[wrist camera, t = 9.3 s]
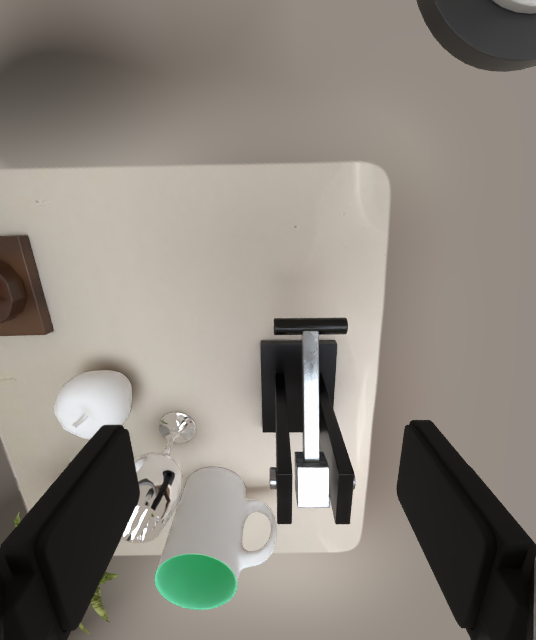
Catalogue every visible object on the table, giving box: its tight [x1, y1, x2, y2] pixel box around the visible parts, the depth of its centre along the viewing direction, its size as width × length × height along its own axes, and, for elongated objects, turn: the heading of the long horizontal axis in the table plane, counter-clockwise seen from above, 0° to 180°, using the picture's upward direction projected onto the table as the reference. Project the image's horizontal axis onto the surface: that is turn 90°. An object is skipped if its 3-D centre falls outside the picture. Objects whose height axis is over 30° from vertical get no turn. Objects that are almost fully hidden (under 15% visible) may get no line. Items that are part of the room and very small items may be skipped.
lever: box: [274, 318, 348, 508], centre depth 22 cm, size 13×5×2 cm, turn 1°
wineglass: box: [121, 412, 196, 543], centre depth 30 cm, size 6×6×12 cm
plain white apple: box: [54, 370, 132, 439], centre depth 30 cm, size 7×7×8 cm
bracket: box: [261, 340, 355, 524], centre depth 27 cm, size 11×8×15 cm
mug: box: [155, 467, 277, 610], centre depth 34 cm, size 12×8×10 cm, turn 99°
